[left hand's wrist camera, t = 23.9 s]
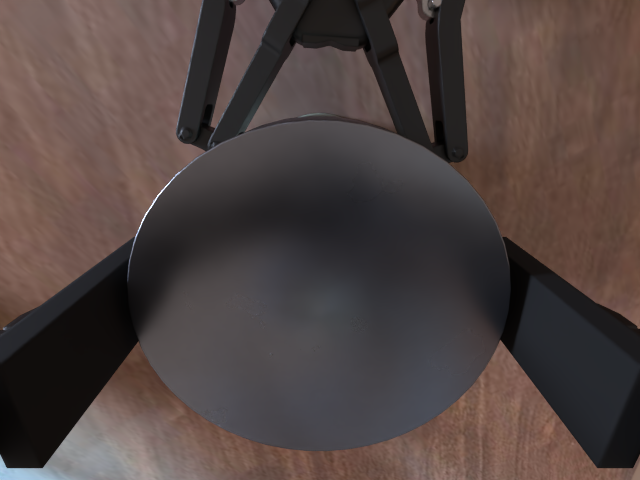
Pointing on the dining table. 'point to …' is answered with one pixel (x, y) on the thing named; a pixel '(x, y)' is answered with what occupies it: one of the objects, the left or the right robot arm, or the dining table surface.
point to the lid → (318, 284)
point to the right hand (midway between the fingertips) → (315, 255)
